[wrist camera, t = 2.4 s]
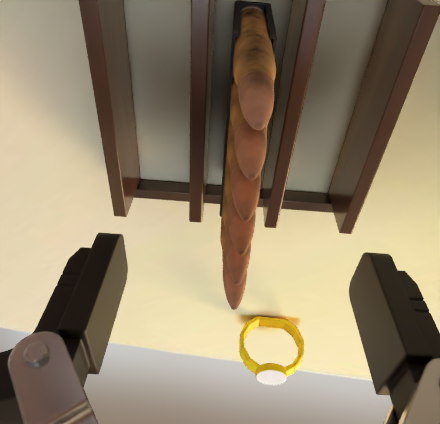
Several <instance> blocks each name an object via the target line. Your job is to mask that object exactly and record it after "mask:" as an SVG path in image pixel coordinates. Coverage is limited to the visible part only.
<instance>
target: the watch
mask: <svg viewBox="0 0 440 424" xmlns="http://www.w3.org/2000/svg"><path fill="white" fill-rule="evenodd" d="M257 326H265V327H273V328H281V329H284V330H285V331H287V332H288V333H289V334H290V335H291V336H292V337H293V338H294V340H295V343H296V345H297V347H298V356H297V358H296V359H295V361H294V362H293V364H290V365H288V366H286V367H283V366H281V365H279V364H274V363H267V364H262V365H259V364H258V363H256V362H255V361H253V360H252V359H251V358H250V357H249V355H248V353H247V351H246V349H245V347H244V340H245V338H246V336H247V334H248V333H249V331H251V330H252V329H254V328H256V327H257ZM303 354H304V342H303V338H302V336H301V334H300V332H299V330H298V329H297V327H296V326H294V325H293V324H292V323H291V322H290V321H288V320H287V319H279V318H268V317H260V316H257V317H255V318H253V319H252V320H250V321H248V323H246V325H245V326H244V328H243V330H242V331H241V334H240V356H241V358H242V360H243V362H244V364H245V365H246V366H247V368H248V369H249V370H251V371H252V372H254V373H255V374H256V379H257V380H258V381H259V382H261V383H263V384H267V385H279V384H282V383H284V382H286V380H287V376H289V375H291V374H293V373H294V372H295V371H296V369H297V368H298V366H299V365H300V363H301V361H302V357H303Z"/></svg>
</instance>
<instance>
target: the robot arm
mask: <svg viewBox="0 0 440 424" xmlns="http://www.w3.org/2000/svg"><path fill="white" fill-rule="evenodd" d="M127 271H128V266H127V258H126V252H125V245H124V239H123V235H122V234H109V233H98V234H97V236H96V238H95V241H94V243H93V245H92V248H80V249H79V250H78V251H77V252H76V253H75V254H74V255H73V256H72V257H70V258H69V260H68V262H67V264H66V266H65V268H64V271H63V275H61V277H60V279H59V281H58V283H57V284H58V285H57V286H56V287H55V290H54V292H53V294H52V296H51V298H50V300H49V302H48V304H47V306H46V309H45V311H44V313H43V315H42V317H41V319H40V321H39V323H38V325H37V327H36V329H35V331H34V332H33V333H32V334H31V335H29V336H27V337H26V338H24V339H22V340H21V341H20V342H19V343H18V344H17V345H16V346H15V347H14V348H13V349H11V350H8V351H5V352H1V353H0V424H98V421H97V419H96V417H95V414H94V412H93V409H92V407H91V405H90V403H89V401H88V398H87V396H86V393H85V391H84V388H83V387H84V384H85V381H86V378H87V374H99V371H100V368H101V365H102V362H103V358H104V355H105V351H106V348H107V345H108V341H109V338H110V335H111V331H112V328H113V324H114V321H115V318H116V314H117V311H118V307H119V304H120V301H121V297H122V294H123V291H124V287H125V284H126V280H127ZM349 296H350V301H351V305H352V308H353V312H354V315H355V319H356V323H357V326H358V330H359V333H360V337H361V341H362V344H363V348H364V351H365V355H366V359H367V362H368V366H369V369H370V373H371V377H372V380H373V384H374V387H375V391H376V394H378V395H390V397H391V400H392V404H393V405H392V406H391V408H390V410H389V412H388V414H387V416H386V418H385V421H384V423H383V424H440V333H439V331H438V329H437V327H436V324H435V322H434V320H433V318H432V316H431V314H430V313H429V309H428V307H427V305H426V303H425V301H423V299H424V298H423V296H422V294H421V292H420V290H419V288H418V286H417V284H416V283H415V282H414V281H413V280H412V278H411V277H410V276H409V275H408V274H407V273H406V272H405V271H397V268H396V266H395V264H394V261H393V259H392V257H391V256H390V255H389V254H379V253H364V254H363V255H362V257H361V260H360V262H359V264H358V266H357V268H356V271H355V273H354V275H353V277H352V280H351V282H350V287H349Z"/></svg>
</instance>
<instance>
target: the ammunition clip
mask: <svg viewBox="0 0 440 424" xmlns="http://www.w3.org/2000/svg"><path fill="white" fill-rule="evenodd" d="M276 40H277V36H276V30H275V25H274V20H273V15H272V10H271V5H270V4H269V3H257V2H243V1H236V2H235V10H234V24H233V38H232V52H231V66H230V80H229V93H228V107H227V121H226V135H225V149H224V162H223V176H222V190H221V204H220V216H221V217H222V220H221V245H222V250H223V281H224V288H225V293H226V297H227V300H228V302H229V305H230V307H231V308H232V309H233V310H235V309H237V307H238V306H239V304H240V302H241V300H242V296H243V293H244V289H245V284H246V276H247V268H248V264H249V258H250V251H251V240H252V237H253V233H254V226H255V210H256V207H257V204H258V200H259V195H260V186H261V179H260V176H261V170H262V167H263V165H264V161H265V156H266V149H267V125H268V121H269V119H270V117H271V115H272V111H273V105H274V80H275V75H276V65H275V60H274V54H275V47H276Z"/></svg>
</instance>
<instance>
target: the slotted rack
mask: <svg viewBox="0 0 440 424" xmlns="http://www.w3.org/2000/svg"><path fill="white" fill-rule="evenodd" d="M325 2H326V0H293V4H292V10H291V16H290V22H289V28H288V34H287V40H286V46H285V52H284V58H283V64H282V70H281V76H280V82H279V88H278V94H277V100H276V106H275V112H274V119H273V125H272V131H271V137H270V143H269V149H268V155H267V161H266V167H265V173H264V179H263V185H262V189H260V195H259V200H258V204H257V207H263V211H264V226H265V227H269V228H276V227H277V224H278V219H279V215H280V210H281V209H293V210H306V211H319V212H332V213H334V215H335V219H336V222H337V226H338V229H339V233H345V234H352V232H353V229H354V227H355V224H356V222H357V219H358V217H359V214H360V212H361V209H362V207H363V204H364V202H365V199H366V197H367V194H368V192H369V189H370V187H371V184H372V182H373V179H374V177H375V174H376V172H377V169H378V167H379V164H380V162H381V159H382V157H383V154H384V151H385V149H386V146H387V144H388V141H389V139H390V136H391V134H392V131H393V129H394V126H395V124H396V121H397V119H398V116H399V114H400V111H401V109H402V106H403V104H404V101H405V99H406V96H407V94H408V91H409V89H410V86H411V84H412V81H413V79H414V76H415V74H416V71H417V69H418V66H419V64H420V61H421V59H422V56H423V54H424V51H425V49H426V46H427V44H428V41H429V39H430V36H431V34H432V31H433V29H434V26H435V24H436V21H437V19H438V16H439V14H440V5H439V4H437V3H435V2H434V1H432V0H388V3H387V7H386V10H385V13H384V16H383V19H382V23H381V26H380V29H379V32H378V35H377V39H376V42H375V45H374V48H373V51H372V55H371V58H370V61H369V64H368V67H367V71H366V74H365V77H364V80H363V83H362V87H361V90H360V93H359V96H358V99H357V103H356V106H355V109H354V112H353V115H352V119H351V122H350V125H349V128H348V131H347V135H346V138H345V141H344V144H343V147H342V151H341V154H340V157H339V160H338V163H337V167H336V170H335V173H334V176H333V179H332V183H331V186H330V189H329V192H328V194H321V193H308V192H295V191H285V187H286V182H287V178H288V173H289V168H290V164H291V159H292V155H293V150H294V145H295V141H296V136H297V131H298V127H299V122H300V117H301V113H302V108H303V104H304V99H305V94H306V90H307V85H308V80H309V76H310V71H311V66H312V62H313V57H314V53H315V48H316V43H317V39H318V34H319V29H320V25H321V20H322V15H323V11H324V6H325ZM79 5H80V11H81V17H82V23H83V29H84V35H85V41H86V47H87V53H88V59H89V65H90V71H91V77H92V83H93V89H94V96H95V102H96V108H97V114H98V120H99V126H100V132H101V138H102V144H103V150H104V156H105V162H106V168H107V174H108V180H109V186H110V192H111V198H112V204H113V210H114V216H122V217H126V216H127V214H128V211H129V208H130V206H131V203H132V200H133V198H134V197H135V198H148V199H162V200H175V201H188V202H190V205H189V221H190V222H202V217H203V209H204V203H214V204H221V190H222V186H216V185H207V165H208V143H209V120H210V98H211V75H212V53H213V30H214V8H215V0H191V80H190V183H177V182H164V181H151V180H140V171H139V160H138V150H137V140H136V130H135V119H134V109H133V99H132V89H131V78H130V68H129V58H128V47H127V37H126V27H125V17H124V6H123V0H79Z"/></svg>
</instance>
